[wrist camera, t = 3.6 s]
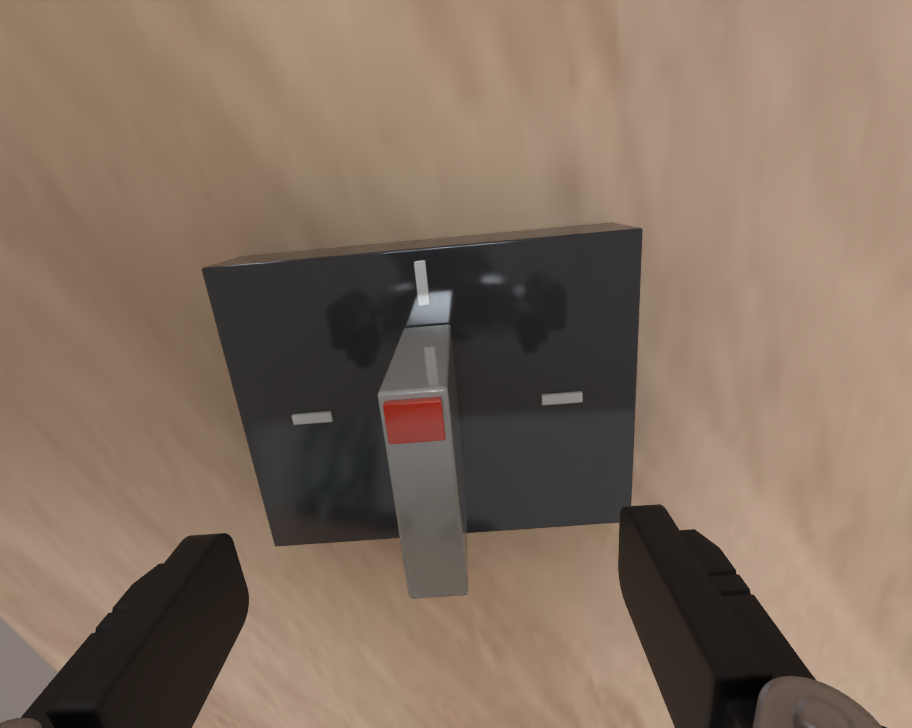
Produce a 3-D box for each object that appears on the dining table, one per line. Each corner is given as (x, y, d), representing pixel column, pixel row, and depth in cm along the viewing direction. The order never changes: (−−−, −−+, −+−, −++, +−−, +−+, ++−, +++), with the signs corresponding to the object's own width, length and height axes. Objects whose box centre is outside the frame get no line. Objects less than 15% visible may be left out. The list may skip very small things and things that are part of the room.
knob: (465, 479, 18) (469, 604, 12) (423, 482, 18) (407, 607, 12) (450, 323, 16) (447, 391, 10) (403, 327, 16) (374, 397, 10)
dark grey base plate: (298, 501, 22) (273, 550, 19) (240, 256, 18) (197, 269, 15) (608, 478, 21) (632, 524, 18) (613, 222, 18) (645, 228, 15)
